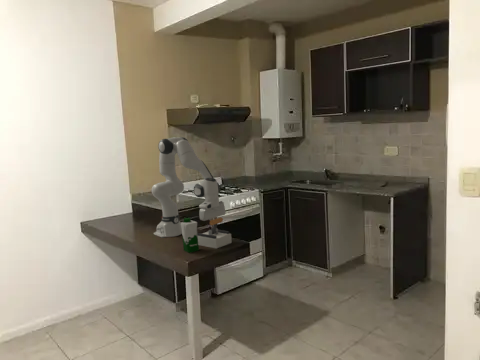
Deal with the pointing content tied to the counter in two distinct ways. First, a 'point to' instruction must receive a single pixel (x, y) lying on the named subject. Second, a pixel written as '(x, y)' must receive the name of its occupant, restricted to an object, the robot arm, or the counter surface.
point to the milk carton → (189, 235)
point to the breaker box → (215, 243)
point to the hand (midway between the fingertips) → (213, 224)
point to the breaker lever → (215, 224)
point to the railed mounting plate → (212, 235)
